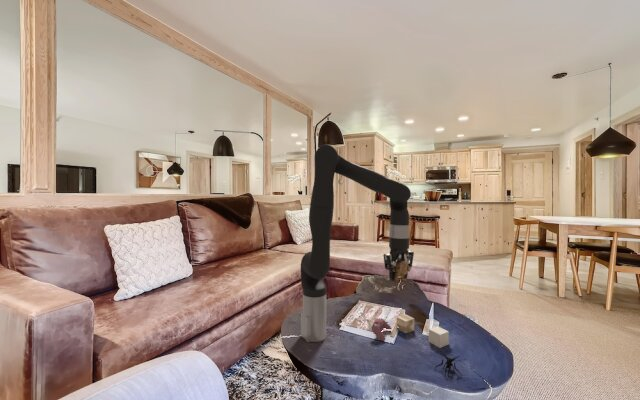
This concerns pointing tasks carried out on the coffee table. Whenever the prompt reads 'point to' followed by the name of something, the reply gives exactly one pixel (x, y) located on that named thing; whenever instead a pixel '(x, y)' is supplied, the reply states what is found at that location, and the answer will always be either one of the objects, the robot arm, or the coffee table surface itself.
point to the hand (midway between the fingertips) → (398, 279)
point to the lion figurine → (401, 270)
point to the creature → (448, 365)
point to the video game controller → (379, 328)
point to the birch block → (405, 323)
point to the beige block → (438, 336)
